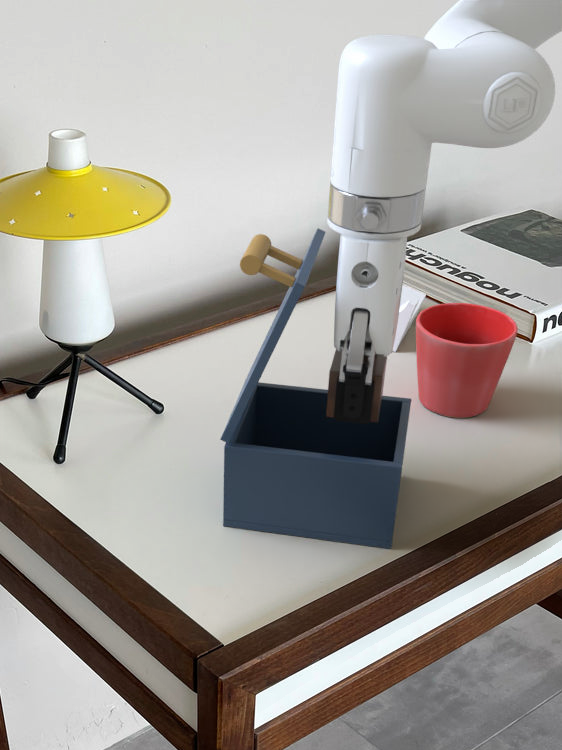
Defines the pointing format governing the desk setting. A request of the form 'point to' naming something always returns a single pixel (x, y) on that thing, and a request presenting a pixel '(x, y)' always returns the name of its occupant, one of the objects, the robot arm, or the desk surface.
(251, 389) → the lid
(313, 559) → the desk surface
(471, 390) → the flower pot
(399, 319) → the bracket
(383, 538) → the chest
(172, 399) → the desk surface
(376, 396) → the block
